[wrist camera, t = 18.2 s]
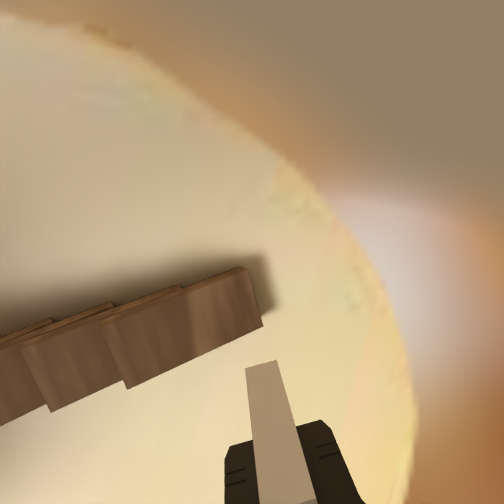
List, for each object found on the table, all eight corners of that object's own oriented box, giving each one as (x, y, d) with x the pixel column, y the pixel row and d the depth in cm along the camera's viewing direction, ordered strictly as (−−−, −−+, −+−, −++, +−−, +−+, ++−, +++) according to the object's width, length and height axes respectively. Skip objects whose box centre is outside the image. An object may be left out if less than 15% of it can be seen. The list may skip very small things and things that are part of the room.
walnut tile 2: (194, 337, 28) (53, 400, 24) (176, 284, 26) (25, 340, 22) (199, 344, 26) (50, 412, 22) (181, 288, 25) (20, 349, 21)
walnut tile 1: (255, 319, 28) (126, 378, 24) (240, 266, 26) (101, 319, 23) (263, 326, 26) (127, 389, 23) (247, 270, 25) (101, 327, 21)
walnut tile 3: (130, 353, 28) (-26, 428, 23) (110, 301, 26) (-60, 367, 21) (134, 360, 26) (-31, 441, 21) (112, 305, 25) (-68, 377, 20)
